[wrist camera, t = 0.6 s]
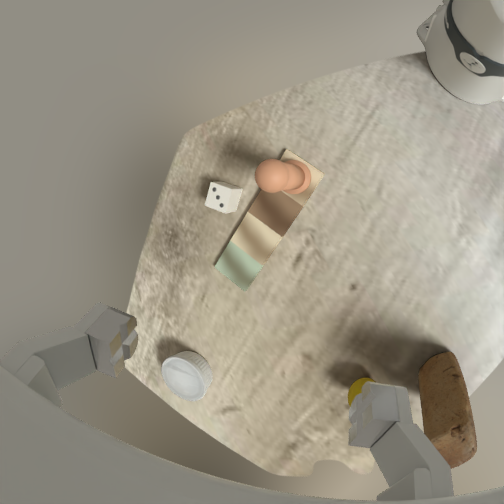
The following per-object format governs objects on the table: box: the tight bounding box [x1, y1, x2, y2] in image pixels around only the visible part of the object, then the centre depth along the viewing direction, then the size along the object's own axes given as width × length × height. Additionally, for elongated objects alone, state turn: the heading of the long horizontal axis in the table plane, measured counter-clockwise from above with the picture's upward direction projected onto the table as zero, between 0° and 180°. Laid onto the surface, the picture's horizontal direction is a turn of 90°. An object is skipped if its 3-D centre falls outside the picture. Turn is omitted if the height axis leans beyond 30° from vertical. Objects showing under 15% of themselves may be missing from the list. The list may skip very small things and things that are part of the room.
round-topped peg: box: [255, 159, 311, 194], centre depth 41 cm, size 5×5×13 cm
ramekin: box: [161, 351, 212, 401], centre depth 62 cm, size 11×11×5 cm
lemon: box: [348, 378, 375, 407], centre depth 46 cm, size 6×6×8 cm
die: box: [205, 182, 242, 213], centre depth 50 cm, size 4×4×4 cm
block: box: [418, 352, 477, 469], centre depth 35 cm, size 11×8×20 cm
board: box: [215, 149, 325, 291], centre depth 50 cm, size 24×7×1 cm, turn 146°
